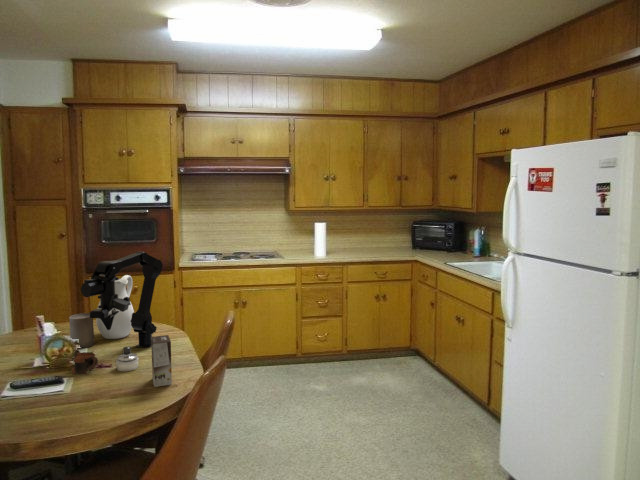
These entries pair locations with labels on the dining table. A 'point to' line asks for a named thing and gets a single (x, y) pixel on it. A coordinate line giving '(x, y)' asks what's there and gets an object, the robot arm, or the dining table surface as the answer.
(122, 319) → the pitcher
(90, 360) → the pottery mug
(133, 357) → the plunger
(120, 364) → the press
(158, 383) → the coffee box
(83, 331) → the pillar candle
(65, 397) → the dining table surface
